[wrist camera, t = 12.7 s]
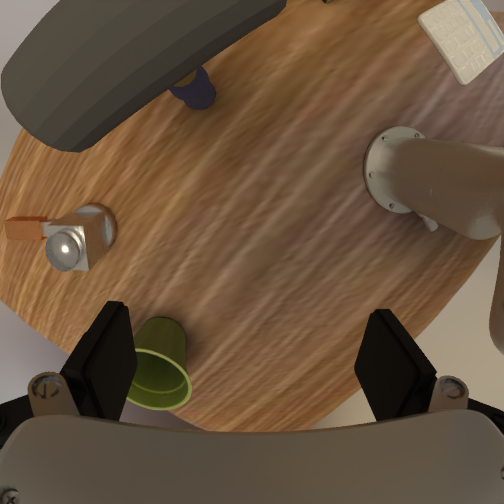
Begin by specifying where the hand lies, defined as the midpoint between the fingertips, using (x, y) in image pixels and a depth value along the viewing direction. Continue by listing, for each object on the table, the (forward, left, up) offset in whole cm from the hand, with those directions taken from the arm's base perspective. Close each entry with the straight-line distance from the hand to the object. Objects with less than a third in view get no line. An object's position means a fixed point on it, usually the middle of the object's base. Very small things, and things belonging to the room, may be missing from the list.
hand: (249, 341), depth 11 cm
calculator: (-2, -49, -31) cm, 58 cm away
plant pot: (-8, +24, -31) cm, 40 cm away
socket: (+11, +18, -28) cm, 35 cm away
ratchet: (+16, +23, -30) cm, 41 cm away
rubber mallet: (+13, -5, -30) cm, 33 cm away
